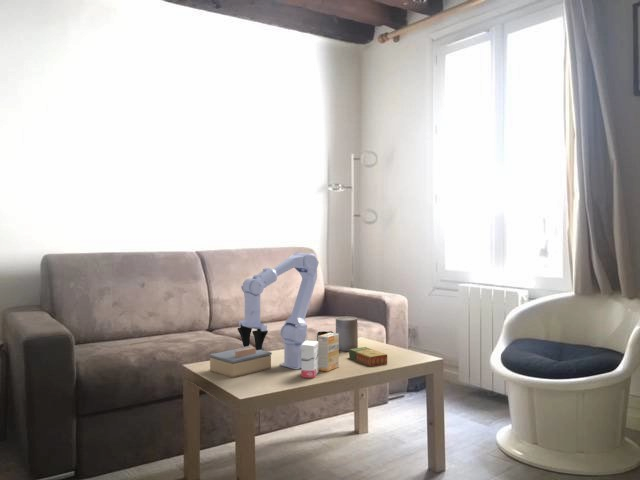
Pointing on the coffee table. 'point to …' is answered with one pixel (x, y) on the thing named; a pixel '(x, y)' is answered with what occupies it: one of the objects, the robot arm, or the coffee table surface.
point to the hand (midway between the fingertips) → (252, 348)
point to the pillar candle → (347, 332)
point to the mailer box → (240, 366)
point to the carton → (368, 356)
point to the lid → (240, 354)
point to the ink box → (309, 359)
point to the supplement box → (328, 351)
